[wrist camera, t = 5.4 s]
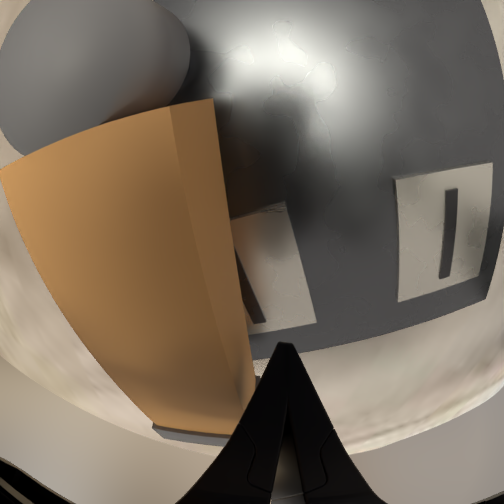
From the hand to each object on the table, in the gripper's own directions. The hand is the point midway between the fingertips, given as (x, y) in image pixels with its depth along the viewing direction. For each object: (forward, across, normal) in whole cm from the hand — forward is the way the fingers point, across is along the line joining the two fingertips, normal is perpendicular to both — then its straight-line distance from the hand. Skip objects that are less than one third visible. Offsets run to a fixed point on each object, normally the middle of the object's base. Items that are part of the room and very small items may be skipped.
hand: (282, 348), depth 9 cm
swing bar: (+1, +4, -2) cm, 5 cm away
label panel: (+5, -1, -5) cm, 7 cm away
